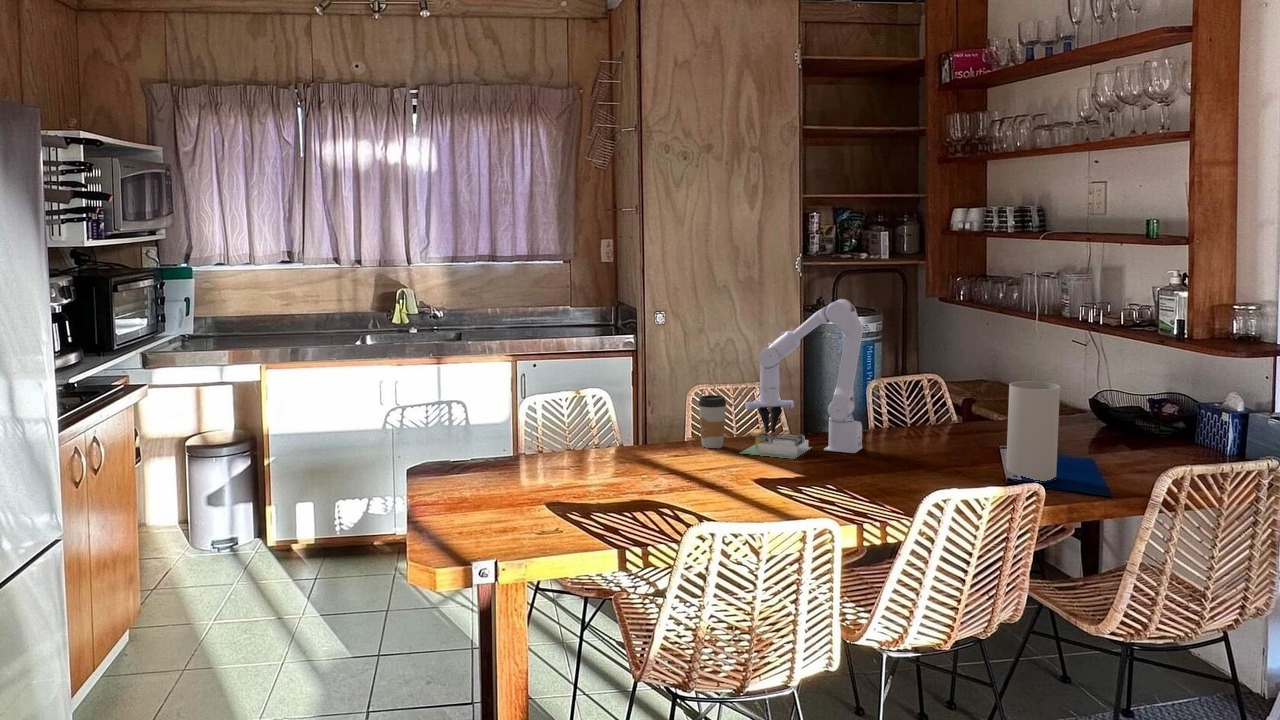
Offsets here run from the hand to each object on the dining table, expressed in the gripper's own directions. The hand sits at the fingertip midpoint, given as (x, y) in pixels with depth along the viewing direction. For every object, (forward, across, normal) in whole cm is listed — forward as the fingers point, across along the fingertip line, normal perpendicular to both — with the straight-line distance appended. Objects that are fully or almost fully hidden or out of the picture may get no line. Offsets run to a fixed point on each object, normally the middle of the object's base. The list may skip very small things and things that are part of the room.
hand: (769, 431), depth 350 cm
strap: (0, -1, -10) cm, 10 cm away
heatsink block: (+4, +1, -11) cm, 12 cm away
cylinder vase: (+5, +56, -54) cm, 78 cm away
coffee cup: (+4, -18, +1) cm, 18 cm away
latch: (+3, -5, -6) cm, 9 cm away
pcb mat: (+4, -1, -9) cm, 10 cm away
